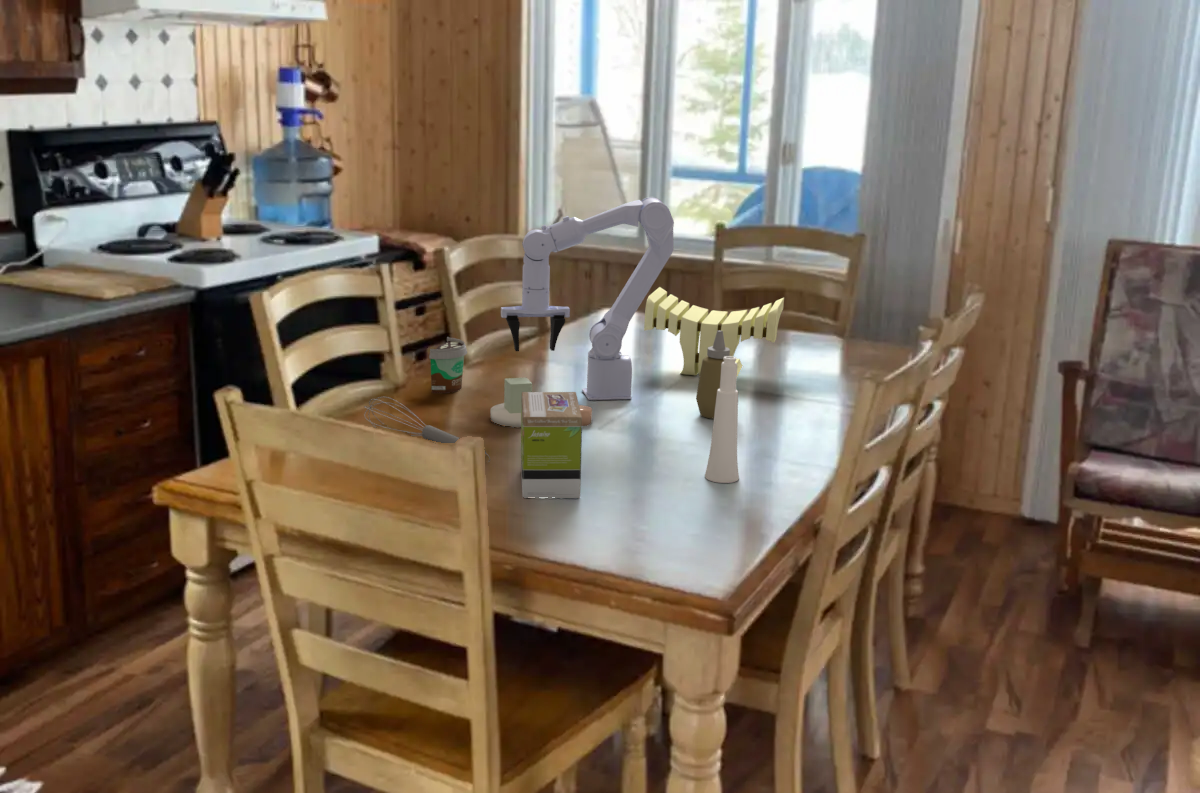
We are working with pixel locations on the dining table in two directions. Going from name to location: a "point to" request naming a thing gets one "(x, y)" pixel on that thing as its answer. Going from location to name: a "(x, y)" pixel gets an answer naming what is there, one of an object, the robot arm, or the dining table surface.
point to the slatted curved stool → (708, 326)
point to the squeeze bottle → (711, 376)
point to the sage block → (515, 393)
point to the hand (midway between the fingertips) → (534, 349)
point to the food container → (447, 366)
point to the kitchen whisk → (427, 432)
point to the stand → (505, 416)
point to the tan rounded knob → (586, 415)
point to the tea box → (551, 445)
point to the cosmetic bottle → (725, 428)
